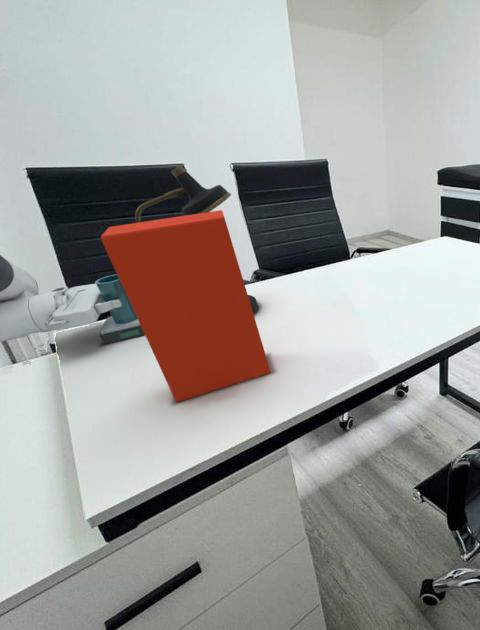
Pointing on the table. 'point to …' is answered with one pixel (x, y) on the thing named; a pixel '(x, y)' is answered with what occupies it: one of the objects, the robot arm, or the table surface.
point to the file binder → (189, 300)
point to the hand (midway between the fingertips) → (123, 296)
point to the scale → (119, 331)
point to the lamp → (195, 202)
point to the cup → (113, 290)
